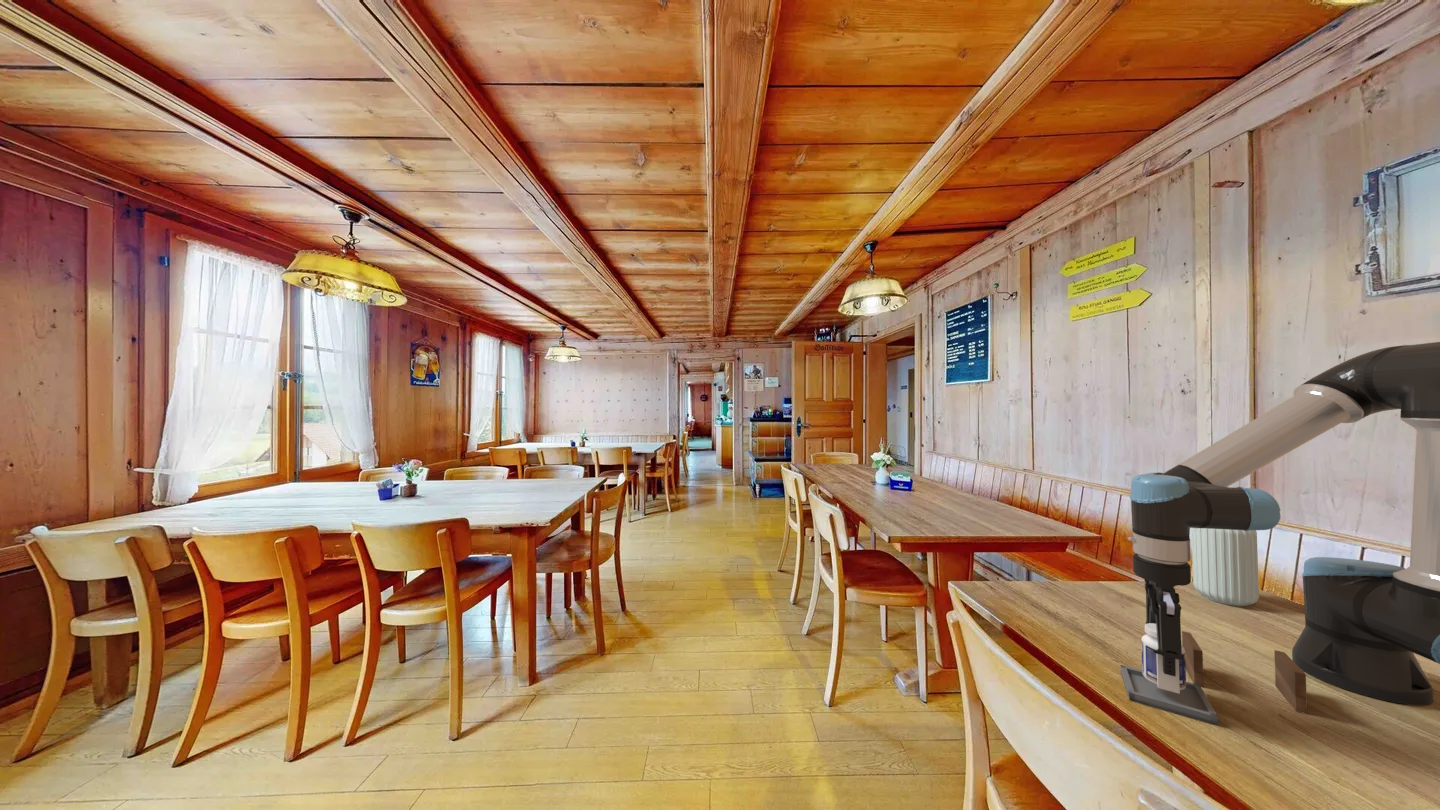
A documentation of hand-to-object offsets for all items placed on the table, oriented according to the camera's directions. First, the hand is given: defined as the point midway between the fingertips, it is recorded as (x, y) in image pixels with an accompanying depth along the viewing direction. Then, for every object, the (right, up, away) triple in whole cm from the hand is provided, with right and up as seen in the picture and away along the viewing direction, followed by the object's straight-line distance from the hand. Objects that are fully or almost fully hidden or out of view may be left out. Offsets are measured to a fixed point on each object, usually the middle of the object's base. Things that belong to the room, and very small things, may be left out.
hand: (1164, 679), depth 79 cm
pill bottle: (0, -1, 0) cm, 1 cm away
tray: (0, -3, 0) cm, 3 cm away
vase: (+55, -2, +36) cm, 65 cm away
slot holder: (+17, -3, +2) cm, 17 cm away
